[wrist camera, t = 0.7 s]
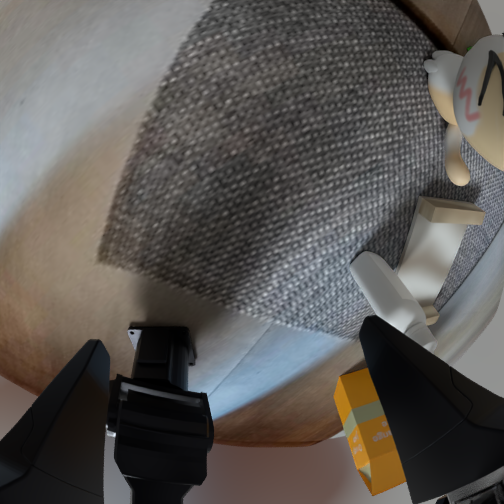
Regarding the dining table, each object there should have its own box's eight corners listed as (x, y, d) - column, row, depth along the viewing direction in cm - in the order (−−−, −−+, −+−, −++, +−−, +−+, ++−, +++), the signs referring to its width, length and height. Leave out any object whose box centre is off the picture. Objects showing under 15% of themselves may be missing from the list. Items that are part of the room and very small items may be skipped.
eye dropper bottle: (386, 238, 23) (463, 330, 13) (389, 280, 26) (448, 367, 16) (345, 256, 24) (412, 362, 14) (353, 296, 27) (405, 392, 17)
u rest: (426, 310, 31) (435, 323, 29) (374, 321, 30) (383, 336, 28) (471, 202, 22) (485, 212, 20) (419, 195, 21) (435, 207, 19)
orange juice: (339, 375, 36) (380, 494, 19) (389, 359, 36) (438, 465, 20) (332, 397, 40) (364, 498, 23) (378, 383, 41) (416, 475, 24)
